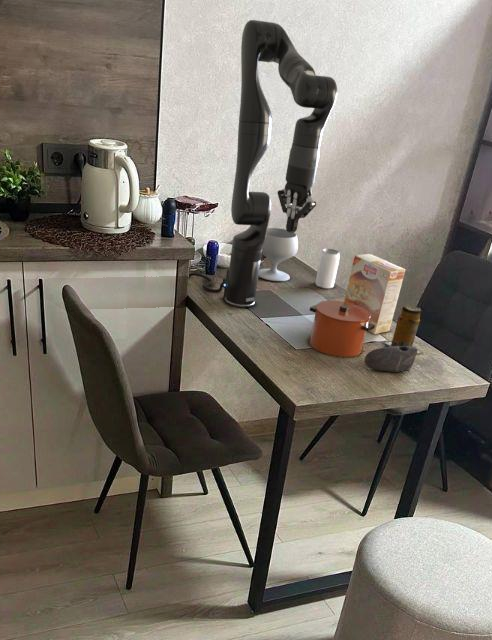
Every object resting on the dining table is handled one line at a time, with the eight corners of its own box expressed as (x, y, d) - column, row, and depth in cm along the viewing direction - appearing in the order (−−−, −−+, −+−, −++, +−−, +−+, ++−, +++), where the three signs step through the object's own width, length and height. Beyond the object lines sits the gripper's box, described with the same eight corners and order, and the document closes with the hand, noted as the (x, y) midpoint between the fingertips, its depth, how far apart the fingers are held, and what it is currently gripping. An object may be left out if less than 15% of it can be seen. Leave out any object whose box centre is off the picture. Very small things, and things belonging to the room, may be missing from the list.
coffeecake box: (340, 316, 228) (353, 254, 217) (355, 313, 232) (370, 252, 221) (374, 334, 218) (390, 271, 208) (390, 331, 222) (406, 268, 211)
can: (334, 289, 249) (341, 255, 242) (316, 287, 249) (322, 252, 242) (332, 283, 254) (339, 249, 248) (314, 281, 254) (320, 247, 247)
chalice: (264, 283, 246) (271, 239, 237) (246, 270, 256) (252, 226, 248) (299, 282, 251) (307, 239, 243) (280, 269, 261) (287, 226, 253)
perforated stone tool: (364, 373, 194) (371, 349, 190) (359, 364, 198) (364, 341, 194) (417, 375, 197) (424, 352, 193) (410, 367, 201) (417, 344, 197)
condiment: (403, 341, 217) (414, 302, 210) (421, 353, 211) (433, 314, 204) (384, 343, 214) (394, 304, 207) (401, 355, 207) (413, 315, 201)
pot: (293, 341, 206) (301, 302, 200) (320, 328, 217) (328, 290, 211) (351, 364, 198) (361, 323, 191) (376, 349, 209) (386, 310, 202)
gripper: (331, 169, 184) (317, 238, 194) (295, 156, 191) (283, 223, 201) (310, 171, 179) (297, 240, 189) (274, 157, 187) (264, 225, 197)
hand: (290, 231), depth 195 cm, fingers closed
